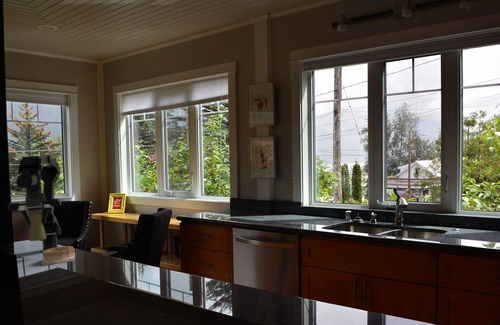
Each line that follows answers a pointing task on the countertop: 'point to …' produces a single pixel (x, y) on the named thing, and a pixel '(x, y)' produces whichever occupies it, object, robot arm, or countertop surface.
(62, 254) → the socket board
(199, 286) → the countertop surface
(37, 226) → the cork
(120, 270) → the countertop surface
